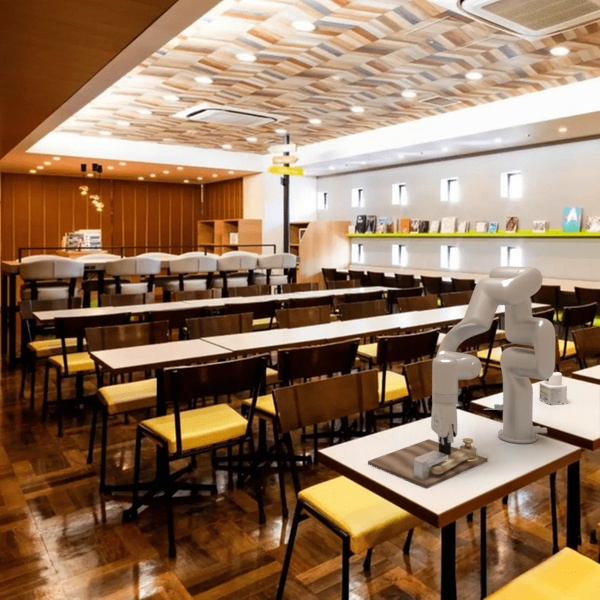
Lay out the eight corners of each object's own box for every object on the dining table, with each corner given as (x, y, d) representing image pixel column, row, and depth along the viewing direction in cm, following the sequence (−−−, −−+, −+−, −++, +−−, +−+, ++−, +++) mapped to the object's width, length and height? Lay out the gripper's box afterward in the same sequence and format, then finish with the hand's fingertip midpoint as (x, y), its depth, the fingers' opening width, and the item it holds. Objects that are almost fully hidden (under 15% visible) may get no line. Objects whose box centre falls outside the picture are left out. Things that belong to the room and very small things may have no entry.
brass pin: (475, 453, 176) (475, 436, 175) (481, 461, 170) (481, 443, 169) (455, 454, 176) (455, 436, 176) (460, 461, 170) (460, 443, 169)
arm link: (464, 451, 176) (464, 443, 176) (479, 455, 173) (479, 447, 172) (426, 472, 161) (426, 464, 161) (441, 477, 157) (441, 468, 157)
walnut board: (428, 441, 190) (428, 439, 190) (487, 461, 172) (487, 458, 172) (368, 464, 173) (367, 460, 173) (426, 488, 154) (426, 485, 154)
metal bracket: (533, 403, 213) (494, 404, 212) (534, 419, 212) (495, 420, 211) (518, 403, 227) (481, 404, 227) (519, 418, 226) (483, 419, 225)
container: (539, 400, 236) (539, 370, 234) (556, 399, 237) (556, 369, 235) (549, 405, 228) (549, 374, 227) (566, 404, 229) (567, 373, 228)
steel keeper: (424, 481, 157) (424, 463, 156) (411, 475, 161) (411, 458, 160) (448, 471, 163) (448, 454, 162) (434, 466, 167) (434, 449, 166)
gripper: (424, 392, 175) (424, 448, 176) (442, 405, 160) (442, 466, 161) (447, 390, 175) (447, 447, 177) (467, 403, 161) (466, 465, 162)
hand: (444, 456), depth 169 cm, fingers closed
